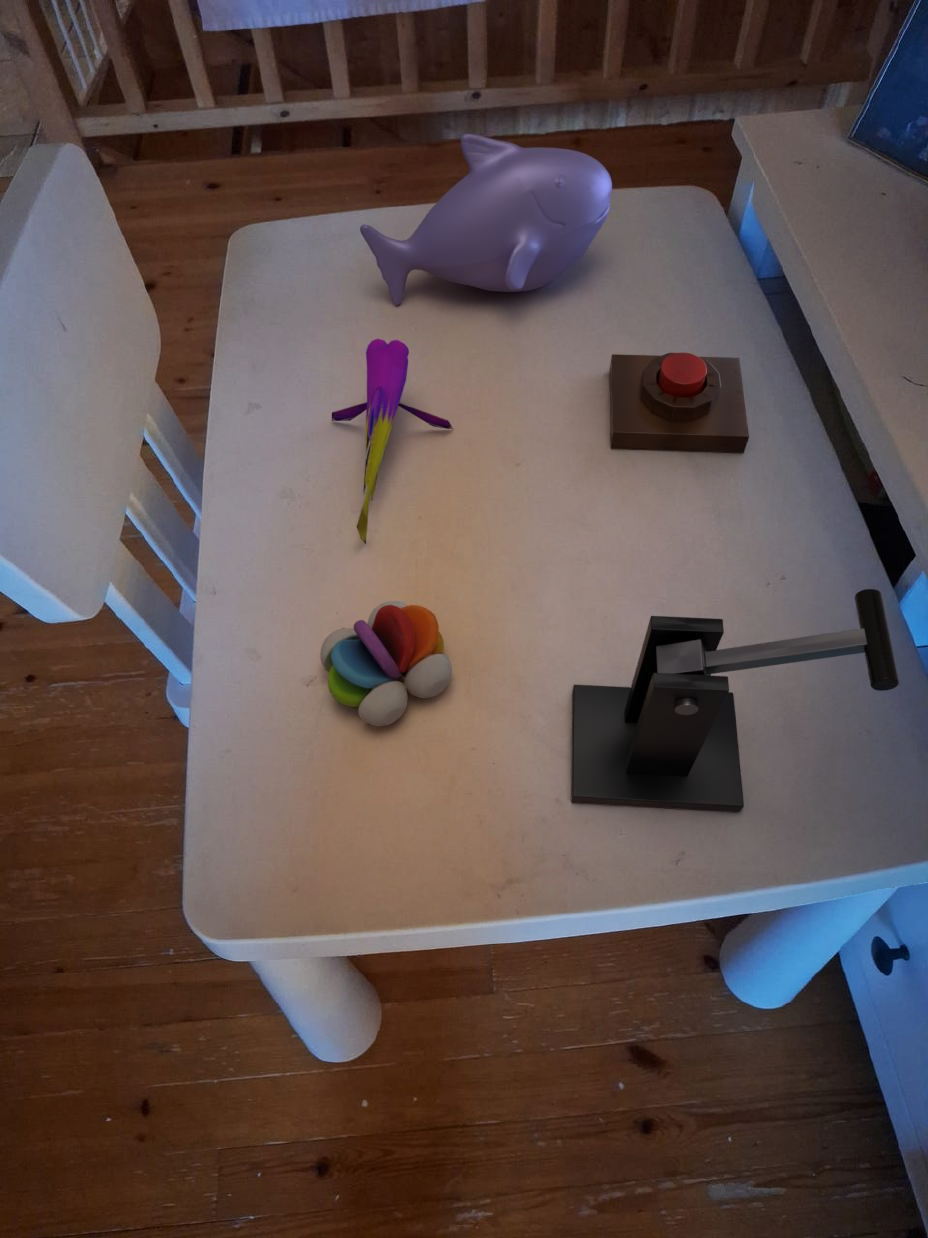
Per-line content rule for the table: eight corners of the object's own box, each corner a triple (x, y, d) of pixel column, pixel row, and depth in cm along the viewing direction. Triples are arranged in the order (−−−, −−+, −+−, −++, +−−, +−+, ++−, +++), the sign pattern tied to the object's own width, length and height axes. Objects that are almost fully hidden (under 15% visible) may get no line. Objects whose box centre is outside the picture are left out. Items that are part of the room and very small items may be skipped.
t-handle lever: (882, 603, 54) (879, 581, 52) (900, 693, 51) (898, 673, 49) (664, 637, 59) (654, 619, 57) (668, 721, 56) (658, 704, 54)
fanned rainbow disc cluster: (470, 682, 70) (467, 635, 64) (363, 748, 68) (350, 706, 62) (411, 607, 74) (404, 555, 68) (309, 667, 72) (291, 619, 65)
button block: (734, 374, 87) (744, 342, 84) (743, 453, 82) (754, 422, 78) (609, 371, 88) (613, 339, 84) (610, 448, 82) (615, 417, 79)
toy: (460, 379, 86) (452, 314, 76) (436, 567, 80) (424, 524, 71) (339, 371, 87) (317, 306, 77) (308, 557, 81) (279, 512, 72)
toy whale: (638, 282, 88) (616, 104, 78) (393, 353, 90) (342, 187, 80) (606, 243, 99) (583, 82, 89) (387, 307, 100) (341, 156, 91)
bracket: (729, 699, 69) (782, 594, 56) (740, 813, 64) (799, 725, 52) (572, 691, 70) (589, 585, 57) (571, 803, 65) (589, 714, 52)
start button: (701, 367, 83) (705, 352, 81) (704, 399, 80) (708, 384, 79) (657, 366, 83) (660, 351, 81) (659, 397, 81) (662, 383, 79)
